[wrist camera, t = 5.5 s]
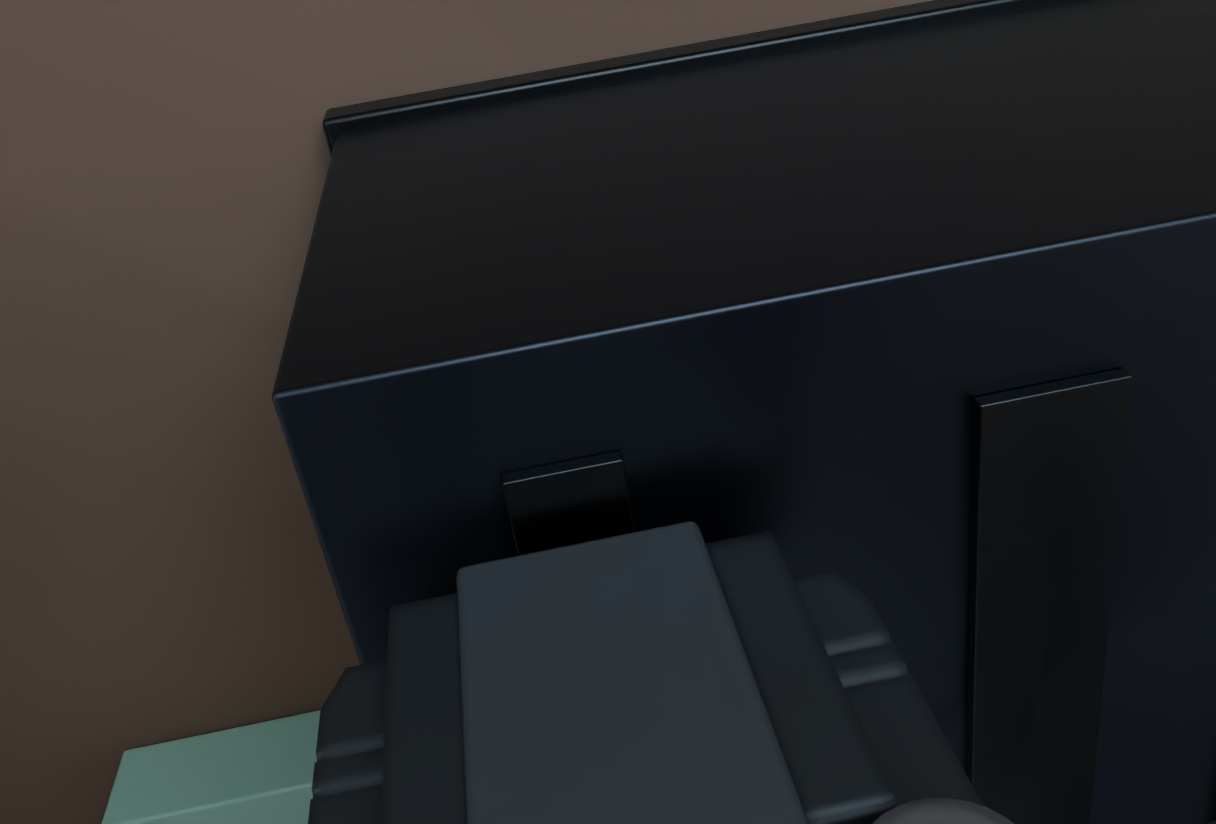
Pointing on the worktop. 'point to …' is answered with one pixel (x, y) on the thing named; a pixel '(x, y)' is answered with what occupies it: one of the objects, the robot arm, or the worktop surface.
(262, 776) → the button block
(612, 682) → the slider
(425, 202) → the toaster
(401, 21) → the worktop surface
